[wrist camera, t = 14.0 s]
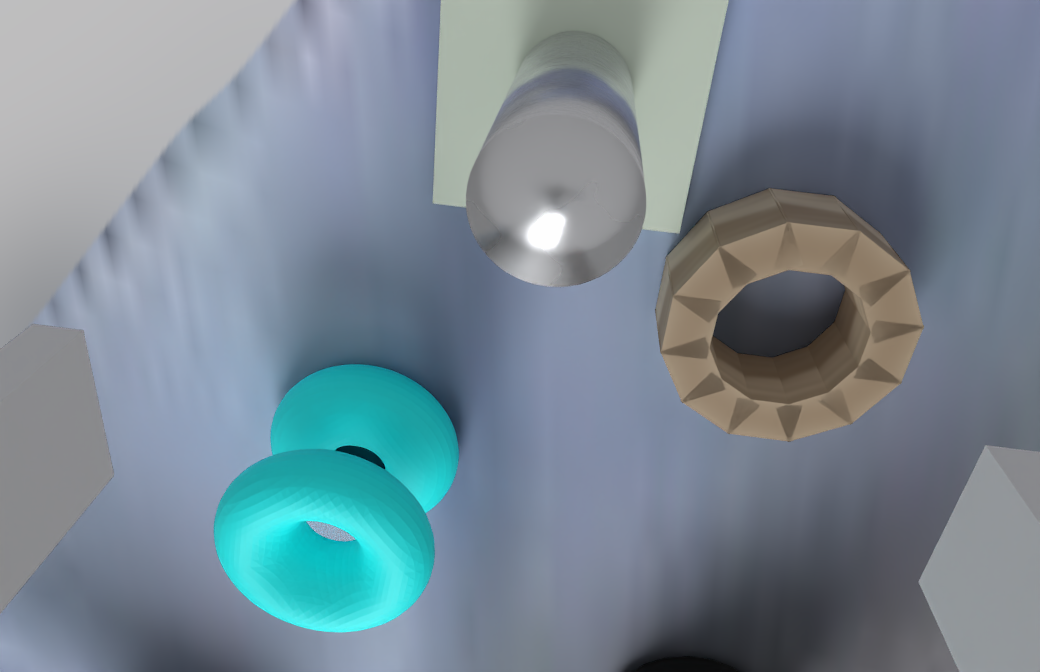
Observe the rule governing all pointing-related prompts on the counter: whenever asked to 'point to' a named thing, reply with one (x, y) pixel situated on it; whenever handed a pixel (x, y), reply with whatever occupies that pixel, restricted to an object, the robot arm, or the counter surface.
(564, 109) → the plug
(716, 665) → the coffee jar
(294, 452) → the donuts
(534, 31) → the board
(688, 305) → the collar
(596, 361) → the counter surface
